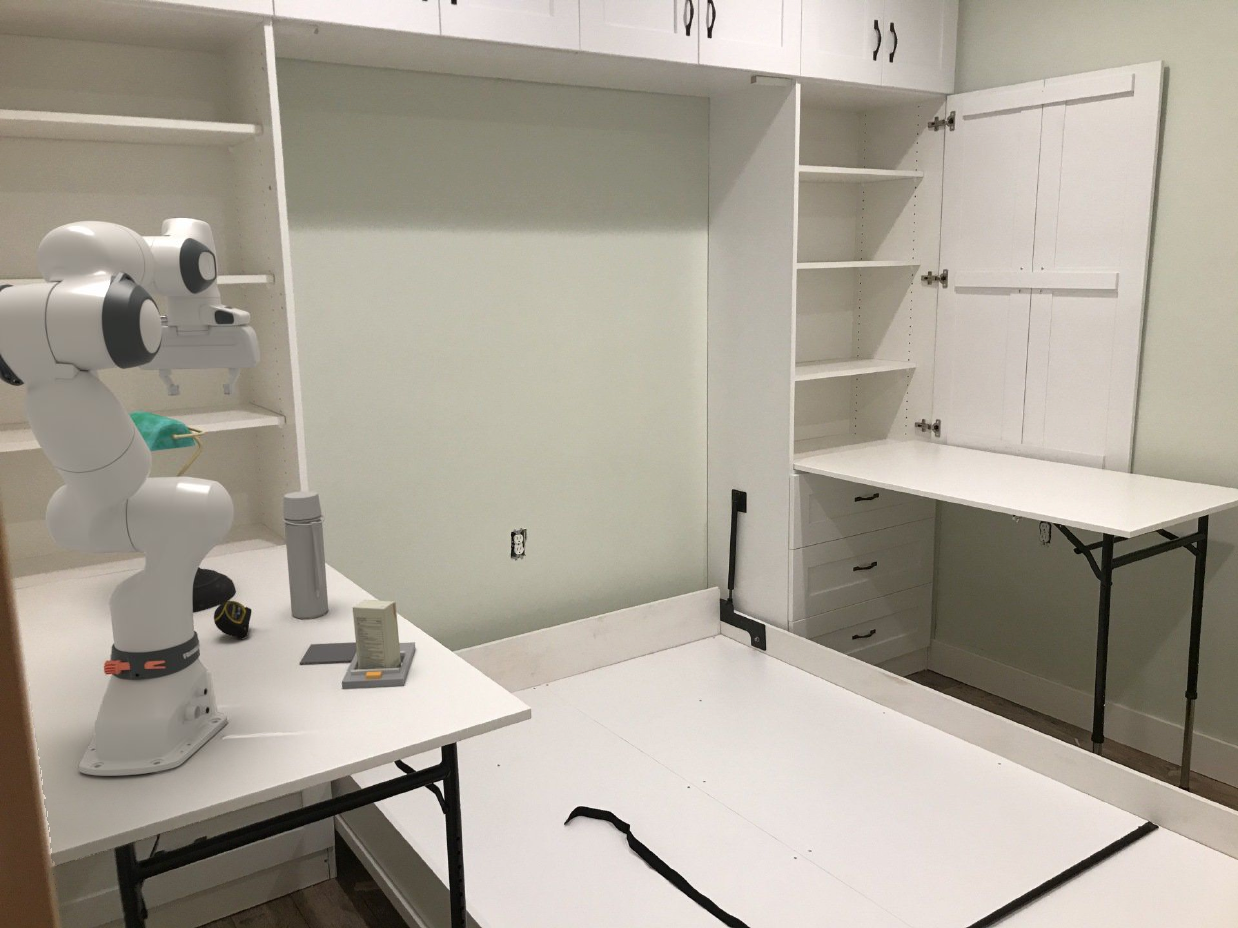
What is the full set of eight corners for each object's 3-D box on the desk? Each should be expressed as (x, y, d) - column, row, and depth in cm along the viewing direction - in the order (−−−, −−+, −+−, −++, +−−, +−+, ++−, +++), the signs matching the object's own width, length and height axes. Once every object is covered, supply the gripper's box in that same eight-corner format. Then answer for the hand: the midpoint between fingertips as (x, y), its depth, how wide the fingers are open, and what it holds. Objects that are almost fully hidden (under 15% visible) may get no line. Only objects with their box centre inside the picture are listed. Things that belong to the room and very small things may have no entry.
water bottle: (283, 615, 199) (274, 495, 195) (319, 606, 205) (310, 488, 200) (305, 625, 193) (295, 501, 188) (341, 616, 198) (333, 495, 194)
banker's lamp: (103, 597, 212) (82, 414, 205) (211, 576, 227) (195, 404, 220) (140, 628, 193) (118, 427, 185) (256, 602, 208) (240, 415, 200)
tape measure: (239, 645, 186) (251, 633, 185) (206, 629, 183) (218, 617, 182) (244, 620, 192) (256, 608, 191) (213, 604, 188) (224, 592, 187)
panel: (403, 685, 163) (402, 675, 163) (342, 688, 162) (341, 678, 162) (415, 648, 180) (414, 639, 180) (359, 650, 179) (359, 641, 179)
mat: (351, 662, 174) (351, 660, 174) (299, 664, 173) (299, 662, 173) (360, 644, 182) (360, 641, 182) (311, 646, 182) (310, 644, 182)
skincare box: (402, 667, 171) (398, 600, 169) (389, 677, 167) (385, 608, 165) (369, 664, 173) (364, 598, 170) (356, 674, 169) (351, 606, 166)
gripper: (124, 316, 166) (133, 398, 168) (249, 314, 167) (255, 395, 170) (139, 315, 172) (147, 394, 174) (259, 313, 173) (265, 391, 176)
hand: (202, 394), depth 172 cm, fingers open, 8 cm apart
